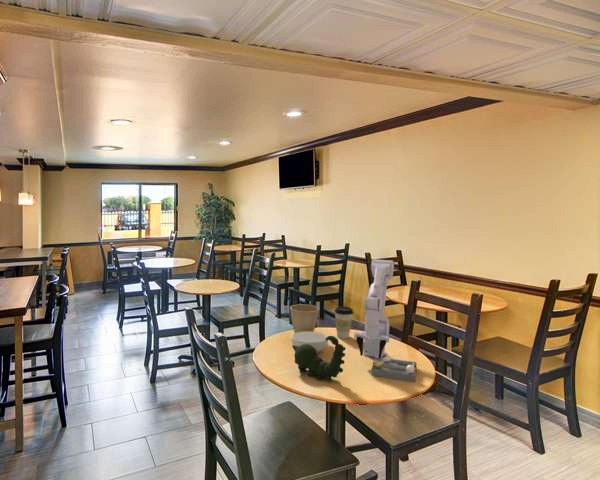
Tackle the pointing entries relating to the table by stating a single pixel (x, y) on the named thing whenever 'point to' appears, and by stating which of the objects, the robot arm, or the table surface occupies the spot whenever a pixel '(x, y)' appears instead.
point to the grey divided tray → (394, 370)
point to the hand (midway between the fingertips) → (370, 356)
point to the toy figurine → (319, 360)
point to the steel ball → (386, 359)
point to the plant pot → (304, 317)
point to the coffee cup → (343, 321)
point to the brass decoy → (378, 364)
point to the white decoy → (410, 369)
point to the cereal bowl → (310, 339)
